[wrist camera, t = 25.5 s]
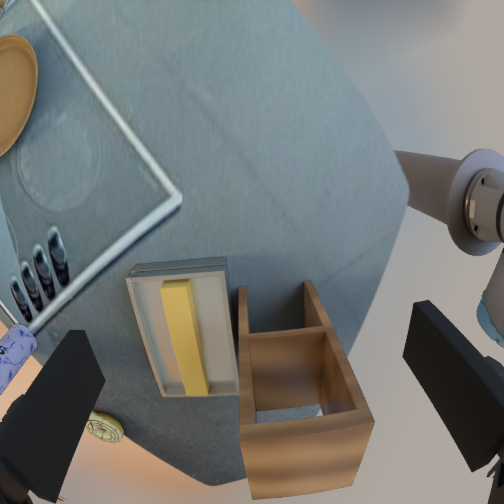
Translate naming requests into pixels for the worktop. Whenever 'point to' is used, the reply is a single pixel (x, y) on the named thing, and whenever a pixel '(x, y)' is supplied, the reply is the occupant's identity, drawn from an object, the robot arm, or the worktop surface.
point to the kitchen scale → (207, 315)
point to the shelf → (296, 395)
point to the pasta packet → (185, 335)
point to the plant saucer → (16, 87)
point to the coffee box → (3, 6)
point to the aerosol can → (14, 352)
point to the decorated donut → (104, 427)
